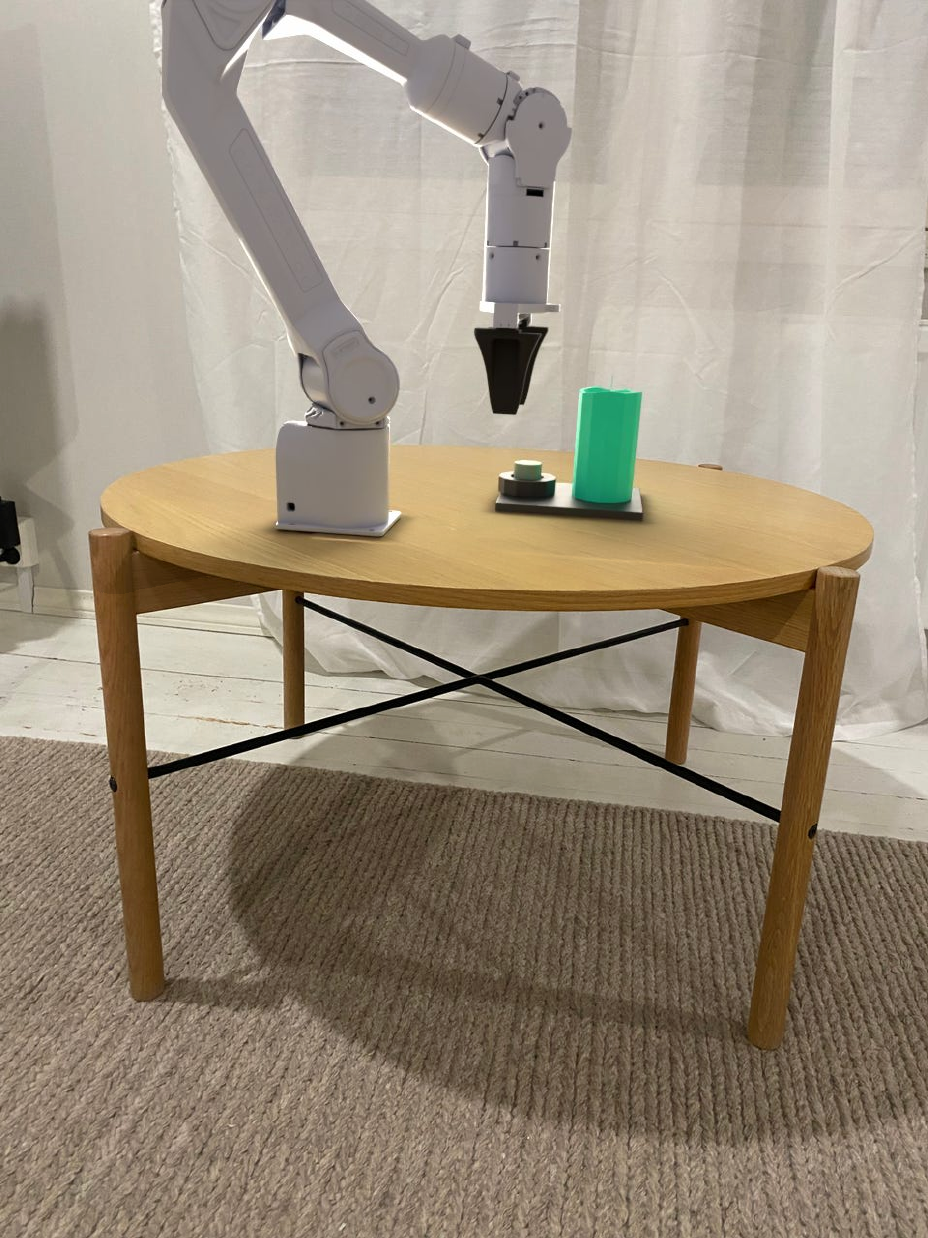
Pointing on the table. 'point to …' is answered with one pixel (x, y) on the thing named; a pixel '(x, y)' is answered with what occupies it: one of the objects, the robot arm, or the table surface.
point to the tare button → (527, 469)
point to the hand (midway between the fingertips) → (509, 408)
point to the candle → (606, 444)
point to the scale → (559, 499)
